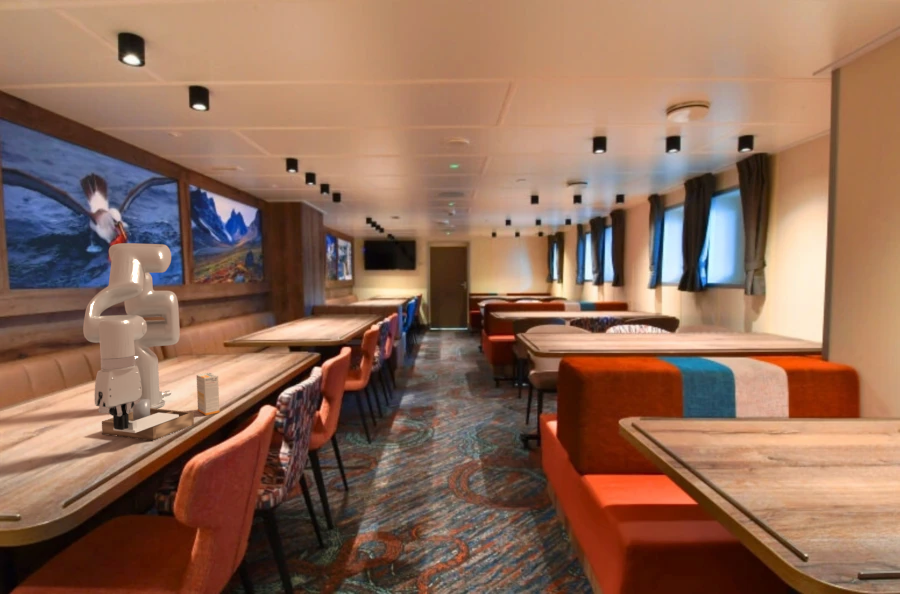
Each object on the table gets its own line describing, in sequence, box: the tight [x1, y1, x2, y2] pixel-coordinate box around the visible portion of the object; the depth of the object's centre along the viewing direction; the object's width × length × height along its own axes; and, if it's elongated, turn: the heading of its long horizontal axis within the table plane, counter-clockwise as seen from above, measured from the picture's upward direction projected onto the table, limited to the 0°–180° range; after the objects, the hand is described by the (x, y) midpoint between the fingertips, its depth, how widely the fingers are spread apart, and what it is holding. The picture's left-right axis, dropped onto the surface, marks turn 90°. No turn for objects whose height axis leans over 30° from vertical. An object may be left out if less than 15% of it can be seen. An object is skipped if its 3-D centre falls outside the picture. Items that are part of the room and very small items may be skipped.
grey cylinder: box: [133, 399, 150, 421], centre depth 136 cm, size 6×7×8 cm
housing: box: [101, 408, 195, 441], centre depth 135 cm, size 14×20×4 cm
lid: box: [113, 413, 179, 433], centre depth 128 cm, size 14×8×3 cm, turn 164°
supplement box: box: [196, 372, 220, 416], centre depth 152 cm, size 8×5×13 cm, turn 47°
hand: (121, 428), depth 120 cm, fingers closed
